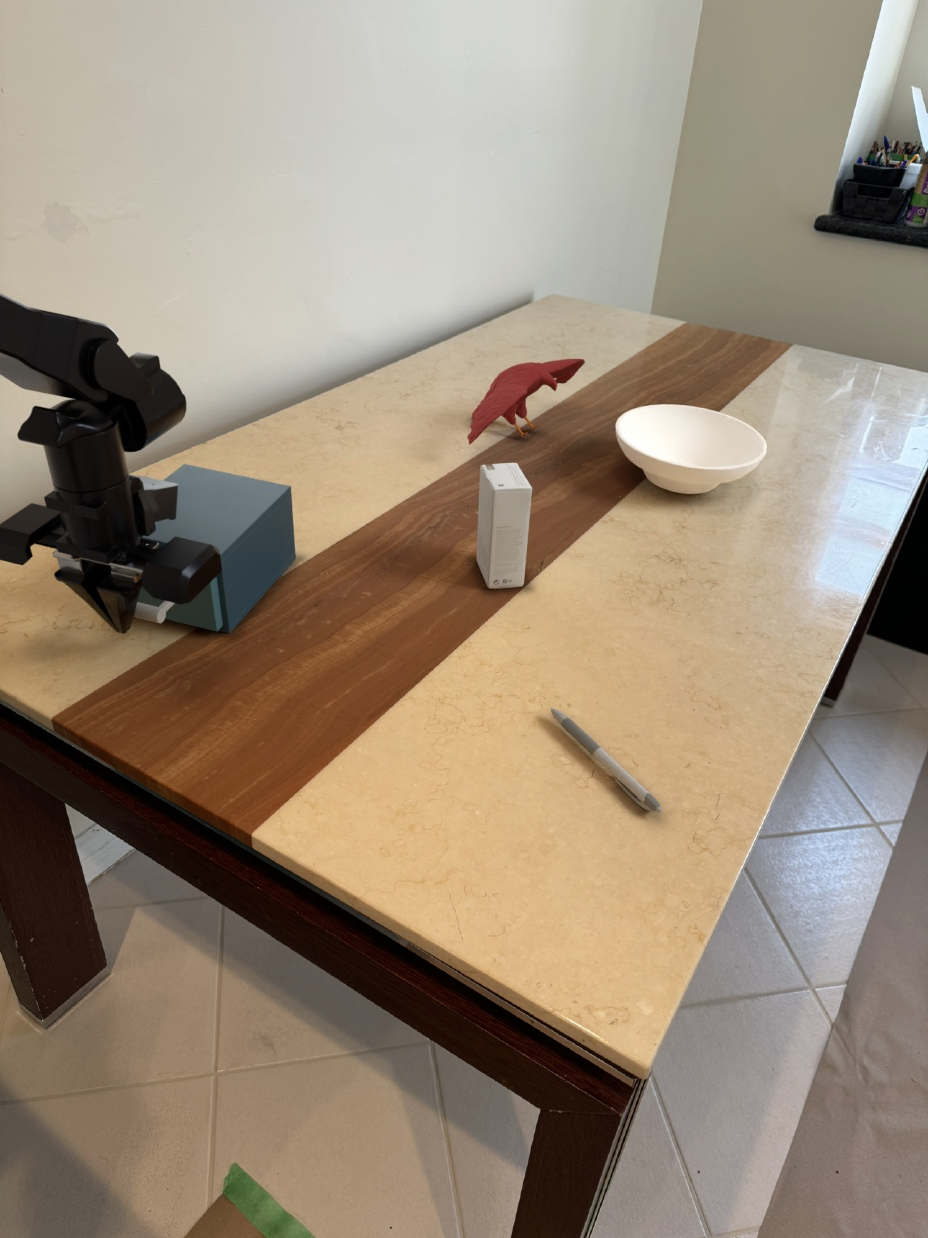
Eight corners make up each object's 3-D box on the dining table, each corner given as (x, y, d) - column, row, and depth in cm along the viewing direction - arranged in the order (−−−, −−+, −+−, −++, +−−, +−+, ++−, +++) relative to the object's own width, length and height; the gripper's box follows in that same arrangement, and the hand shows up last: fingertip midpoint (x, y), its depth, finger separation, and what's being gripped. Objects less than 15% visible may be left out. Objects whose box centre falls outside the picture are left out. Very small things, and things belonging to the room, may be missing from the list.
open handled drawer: (189, 662, 80) (179, 597, 76) (82, 634, 83) (66, 570, 78) (281, 561, 95) (276, 502, 90) (187, 539, 97) (178, 481, 92)
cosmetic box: (525, 587, 95) (537, 488, 88) (485, 590, 94) (494, 490, 87) (510, 557, 100) (520, 460, 93) (472, 559, 99) (479, 462, 92)
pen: (654, 822, 70) (657, 810, 69) (545, 718, 78) (547, 706, 78) (663, 816, 70) (667, 805, 69) (554, 713, 79) (555, 702, 78)
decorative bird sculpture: (449, 490, 121) (521, 437, 110) (410, 434, 120) (478, 375, 109) (545, 424, 140) (613, 373, 130) (512, 375, 139) (578, 320, 129)
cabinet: (230, 633, 85) (220, 555, 80) (117, 605, 88) (100, 527, 83) (296, 558, 97) (291, 485, 91) (194, 535, 99) (184, 463, 94)
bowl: (734, 453, 126) (746, 408, 122) (770, 522, 110) (785, 473, 106) (599, 445, 125) (607, 399, 121) (616, 513, 109) (626, 463, 105)
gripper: (245, 456, 74) (259, 605, 83) (56, 417, 78) (90, 564, 87) (172, 516, 65) (197, 675, 75) (-36, 470, 69) (12, 626, 78)
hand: (123, 630), depth 79 cm, fingers closed, pressing on open handled drawer
